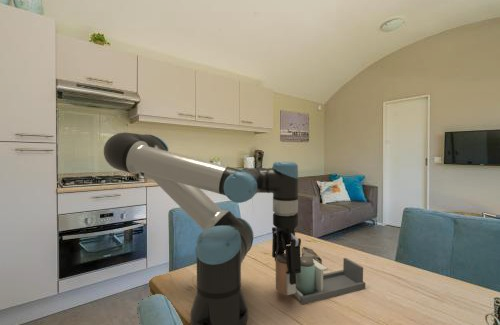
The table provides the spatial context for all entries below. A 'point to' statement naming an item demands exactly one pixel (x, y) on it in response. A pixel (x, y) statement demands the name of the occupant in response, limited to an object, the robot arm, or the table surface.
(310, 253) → the mineral rock
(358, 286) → the lane
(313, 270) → the jar teal
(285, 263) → the jar terracotta
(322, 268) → the pusher
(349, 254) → the table surface
